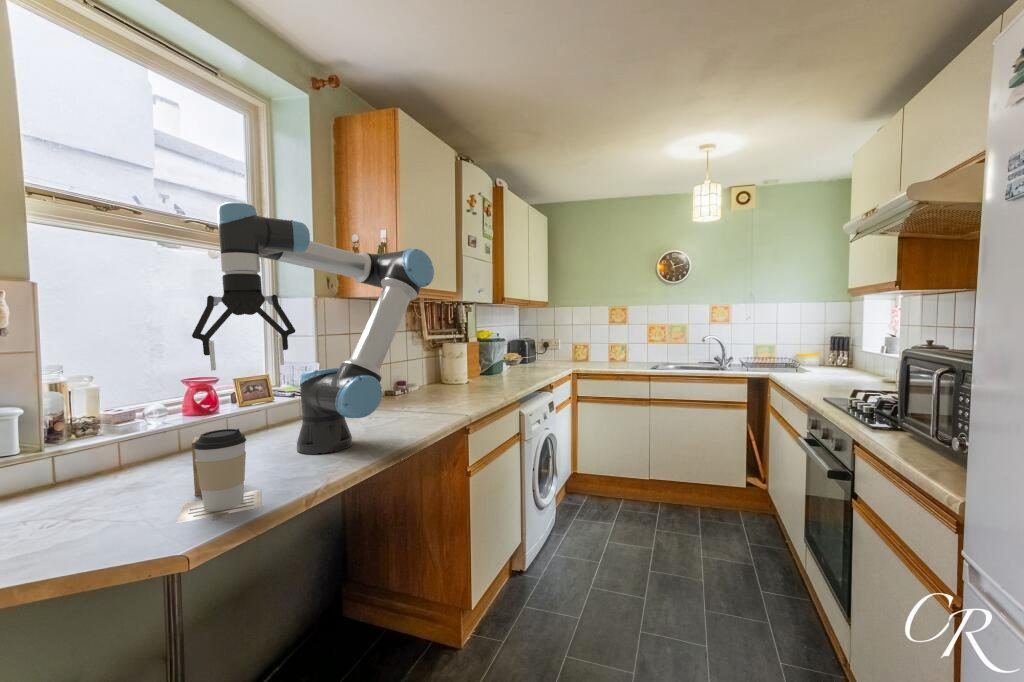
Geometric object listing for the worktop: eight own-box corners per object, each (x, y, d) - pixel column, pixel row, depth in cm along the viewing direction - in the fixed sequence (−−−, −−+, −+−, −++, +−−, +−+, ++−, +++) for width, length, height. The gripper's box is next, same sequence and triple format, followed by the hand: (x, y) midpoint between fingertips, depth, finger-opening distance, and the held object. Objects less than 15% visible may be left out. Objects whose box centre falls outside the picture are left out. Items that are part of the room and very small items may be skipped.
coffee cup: (191, 517, 87) (187, 439, 86) (202, 500, 95) (197, 428, 94) (246, 508, 90) (242, 433, 89) (252, 492, 98) (248, 423, 98)
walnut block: (229, 484, 106) (226, 432, 105) (228, 492, 100) (225, 438, 100) (198, 489, 103) (195, 436, 102) (195, 498, 98) (191, 442, 97)
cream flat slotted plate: (269, 488, 103) (269, 485, 103) (271, 511, 90) (271, 508, 90) (176, 504, 94) (176, 502, 94) (163, 533, 82) (163, 530, 81)
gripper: (300, 275, 113) (306, 361, 114) (176, 275, 101) (184, 370, 102) (303, 272, 107) (309, 363, 108) (171, 271, 94) (180, 374, 96)
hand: (248, 367), depth 105 cm, fingers open, 13 cm apart
